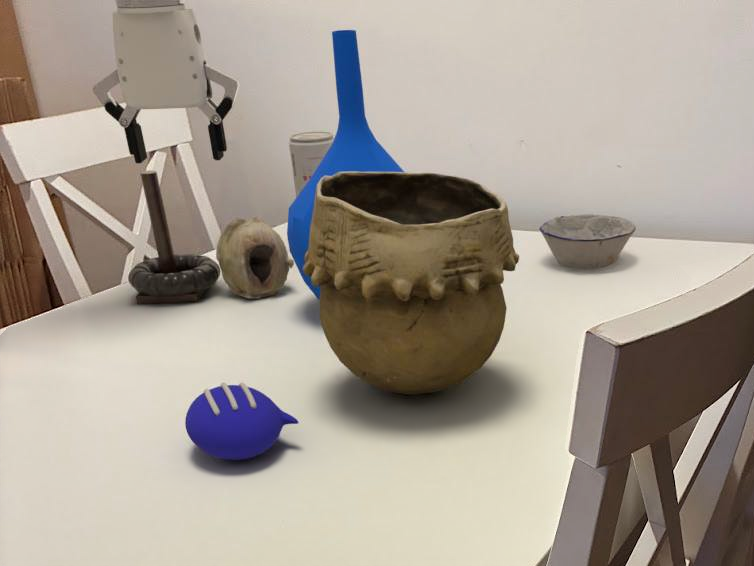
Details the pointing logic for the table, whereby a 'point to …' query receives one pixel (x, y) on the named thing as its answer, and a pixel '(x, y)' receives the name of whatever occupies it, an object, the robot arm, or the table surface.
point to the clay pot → (410, 275)
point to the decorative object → (235, 422)
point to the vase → (339, 147)
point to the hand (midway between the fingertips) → (180, 159)
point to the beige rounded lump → (252, 258)
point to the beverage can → (307, 155)
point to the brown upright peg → (161, 239)
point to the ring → (175, 276)
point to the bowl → (587, 239)
